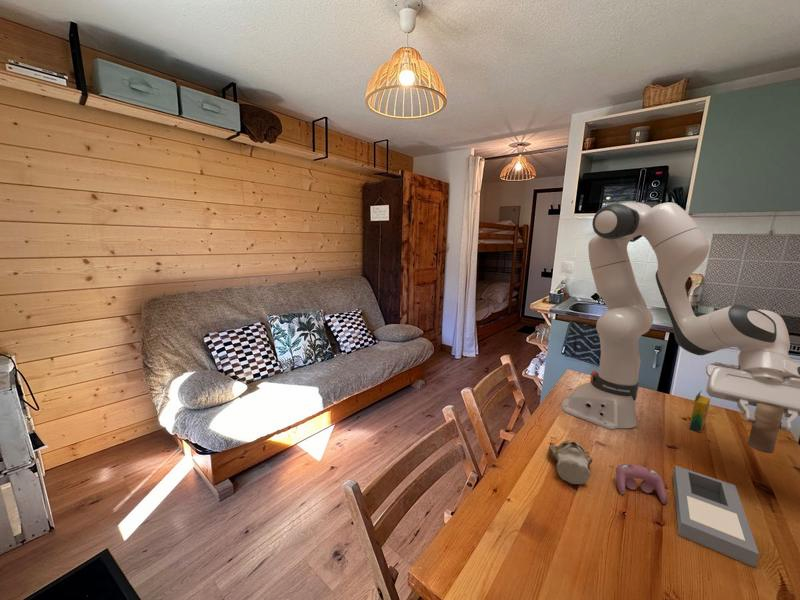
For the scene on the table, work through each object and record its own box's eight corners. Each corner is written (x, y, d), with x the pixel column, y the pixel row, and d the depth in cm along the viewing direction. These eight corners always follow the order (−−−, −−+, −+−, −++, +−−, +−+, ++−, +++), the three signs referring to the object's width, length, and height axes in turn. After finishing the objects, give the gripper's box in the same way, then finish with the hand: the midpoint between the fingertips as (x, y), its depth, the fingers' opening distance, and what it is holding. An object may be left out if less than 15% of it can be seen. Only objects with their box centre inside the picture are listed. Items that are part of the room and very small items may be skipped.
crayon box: (700, 433, 104) (707, 399, 102) (688, 429, 106) (695, 395, 104) (705, 425, 109) (711, 392, 107) (693, 421, 111) (699, 389, 109)
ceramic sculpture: (552, 450, 80) (550, 423, 93) (548, 483, 81) (546, 451, 94) (602, 463, 76) (592, 432, 89) (597, 497, 77) (588, 462, 90)
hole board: (678, 535, 67) (681, 521, 67) (673, 475, 84) (675, 464, 84) (755, 567, 61) (759, 553, 60) (732, 496, 78) (735, 484, 77)
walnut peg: (750, 448, 75) (759, 408, 73) (745, 440, 78) (755, 401, 76) (775, 455, 72) (786, 414, 70) (770, 446, 75) (780, 406, 74)
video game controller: (660, 500, 78) (659, 468, 80) (669, 506, 74) (668, 472, 76) (613, 490, 81) (613, 459, 83) (619, 494, 77) (619, 462, 79)
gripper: (709, 355, 83) (707, 405, 77) (836, 376, 71) (845, 437, 65) (703, 366, 88) (701, 414, 82) (822, 388, 76) (830, 446, 70)
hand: (766, 425), depth 73 cm, fingers closed on walnut peg, 4 cm apart
